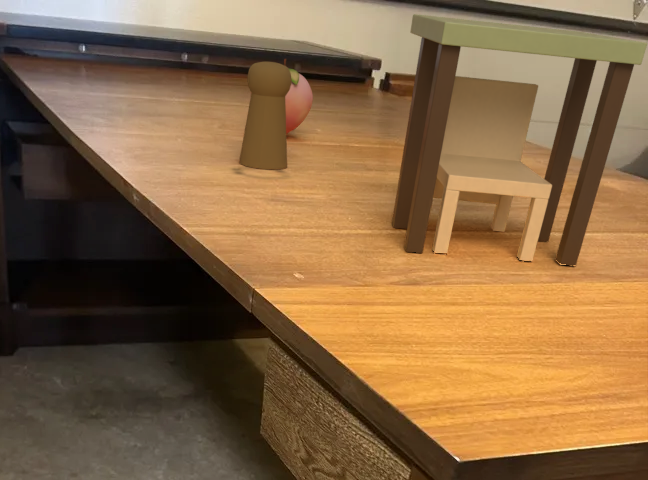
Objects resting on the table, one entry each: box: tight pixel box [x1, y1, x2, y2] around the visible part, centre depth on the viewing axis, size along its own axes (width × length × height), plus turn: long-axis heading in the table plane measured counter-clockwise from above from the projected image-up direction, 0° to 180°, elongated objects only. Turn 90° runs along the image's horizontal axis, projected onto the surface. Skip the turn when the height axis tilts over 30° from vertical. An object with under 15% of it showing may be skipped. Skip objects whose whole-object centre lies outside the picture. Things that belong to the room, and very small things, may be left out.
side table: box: [391, 13, 648, 266], centre depth 74 cm, size 16×16×18 cm
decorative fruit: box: [283, 58, 314, 135], centre depth 117 cm, size 9×8×10 cm
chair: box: [428, 75, 552, 262], centre depth 75 cm, size 9×12×13 cm
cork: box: [238, 61, 292, 170], centre depth 98 cm, size 6×6×11 cm
